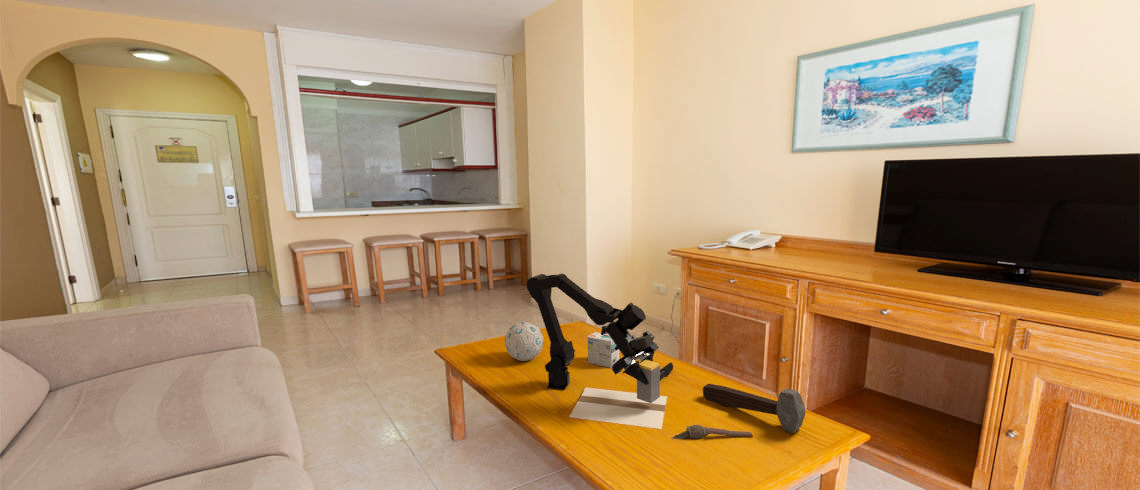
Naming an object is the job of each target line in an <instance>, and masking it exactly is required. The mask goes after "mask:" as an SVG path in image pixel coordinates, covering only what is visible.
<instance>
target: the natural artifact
mask: <svg viewBox="0 0 1140 490" xmlns="http://www.w3.org/2000/svg"><path fill="white" fill-rule="evenodd" d="M706 435H719V436H727V437H729V436H730V437H731V436H732V437H754V435H753V433H752V432H751V431H741V430H739V431H738V430H737V431H736V430H729V429H725V428H716V427H715V428H714V427H709V426H707V427H706V426H703V425H700V424H692V425H690V426H689V425H686V428H685V431H683V432H680V433H679V434H675V436H673V437H671V439H673V440H683V439H686V438H687V439H691V440H692V439H703V438H704V437H705V436H706Z"/></svg>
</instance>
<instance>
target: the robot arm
mask: <svg viewBox="0 0 1140 490" xmlns="http://www.w3.org/2000/svg"><path fill="white" fill-rule="evenodd" d="M525 284H526V285H525V286H526V289H527V291H528V293H529V295H530V297H531V298H532V299H533V300H534V301H535V302H536V304H537V306H538V309H539V311H540V314H541V317H542V321H543V324H544V327H545V330H546V334H547V336H548V339H549V342H550V344H549V345H550V347H549V355H550V356H549V357H550V360H548V362H547V363H546V364H545V365H544V369H545V372H547V373H548V375H547V377H548V380H547V381H548V383H547V384H546V385H547V386H546V388H547V389H551V390H552V389H553V390H563V391H565V390H566V389H567V387H568V386H569V385H570V380H571V379H570V378H571V377H570V376H571V375H570V371H569V367H568V366H570V364H571V363H572V361H573V360H574V359H575V357H576V356H575V353H576V350H575V348H574V345H573V341H572V340H569V341H568V340H567V339H566V338H565V337H564V334H563V330H562V327H561V324H560V322H559V319H558V315H557V313H556V310H555V307H554V304H553V300H552V288H557V289H558V290H560V291H561V292H562V293H564V294H565V295H566V296H567V297H569V298H570V299H572V300H573V301H574V302H575V303H576V304H577V305H579V306H580V307H581V308H582V309H583V310H585V313H586V314H587V316H588V317H589V319H590V320H591V321H592V322H593V323H594V324H595V325H597V326H601V331H600V333H601V335H604V334H608V335H609V336H610V337H611V339H612V340H613V342H614V343H615V345H616V347H615V349H616V351H617V350H619V353H620V354H621V355H622V357H619V360H618V361H617V362H616V363H614V364H613V365H612V368H611V370H612V371H613V373H614V375H618V374H620V373H621V372H622V370H623V372H622V374H626V375H628V376H630V377H632V378H634V379H635V380H636V381H637V380H638V381H640V382H642V383H643V384H645V385H647V384H649V382H648V380H647V379H646V377H645V375H644V374H643V372H642V370H641V369H640V367H639V363H641V362H643V361H644V360H649V361H653V362H654V355H655V352H656V350H658V349H659V348H660V347H659V346H658V345H657V343H656V342H654V340H655V335H653V333H652V332H651V331H650V330H646V331H644V332H642V335H641V336H640V337H639V336H636V334H631V333H630V332H629V330H630V331H633V330H634V329H635V328H637V327H638V326H640V324H642V323H643V322H644V321H645V320H646V317H647V316H646V314H645V312H644V310H643V309H642V308H640V307H639V306H638V305H636V304H634V303H633V302H629V303H628V304H627V305H626V306H625V307H624V309H620V308H616V307H613V306H612V305H611V304H610V303H607V302H606V301H604V300H602V299H599V298H596V297H594V296H592V295H591V294H590V293H588V292H587V291H586V290H584V289H583V288H582V287H580V286H579V285H578V284H576V283H575V282H574V281H573V280H571V279H570V278H569V277H568V276H567V275H566V274H564V273H559V274H558V273H557V274H550V275H546V274H545V273H540V274H537V275H535V276H531V277H530V278H529V279H527V282H526V283H525ZM615 320H616V321H615ZM607 323H608V324H607Z"/></svg>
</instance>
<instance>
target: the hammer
mask: <svg viewBox="0 0 1140 490" xmlns="http://www.w3.org/2000/svg"><path fill="white" fill-rule="evenodd" d="M702 396H703V398H704V400H705V401H708V402H710V403H714V404H718V405H721V406H726V407H731V408H736V409H742V410H746V411H747V410H748V411H752V412H758V413H764V414H770V415H775V416H777V419H778V421H779V423H780V426H781V427H782V429H783V430H784V431H785V432H787V433H790V434H793V435H794V434H795V433H796V432H797V431H798V430H799V429H800V428H801V427H802V425H803V422H804V420H805V416H806V406H805V403H804V401H803V398H802V396H801V394H800V392H799V391H798V390H796V389H795V390H794V389H788V388H785V389H783V390H781V391H780V393H779V395H778V398H777V400H774V399H771V398H768V397H765V396H761V395H757V394H754V393H750V392H746V391H744V390H743V391H742V390H739V389H736V388H732V387H729V386H724V385H719V384H713V383H707V384H705V385H703V388H702Z"/></svg>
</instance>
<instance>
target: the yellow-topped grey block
mask: <svg viewBox="0 0 1140 490" xmlns="http://www.w3.org/2000/svg"><path fill="white" fill-rule="evenodd" d="M640 362H641V361H640ZM640 362H639V367H640V369H641V370H642V372H643V374H644V375H645V377H646V379H647V380H648V382H649V384H647V385H645V384H643V383H642V382H640V381H638V380H637V379H636V393H637V399H640V400H643V401H646V402H649V403H652V402H654V401H655V400H656V399H658V398H659V397H660V396H661V395H660V394H661V393H660V392H661V391H660V390H661V389H660V387H661V383H660V382H661V380H660V369H661V365H660V363H659V362H655V361H654V360H653V361H649V360H644V361H643V362H641V363H640Z"/></svg>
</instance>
